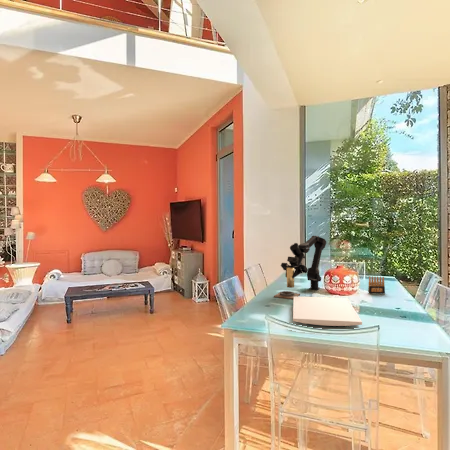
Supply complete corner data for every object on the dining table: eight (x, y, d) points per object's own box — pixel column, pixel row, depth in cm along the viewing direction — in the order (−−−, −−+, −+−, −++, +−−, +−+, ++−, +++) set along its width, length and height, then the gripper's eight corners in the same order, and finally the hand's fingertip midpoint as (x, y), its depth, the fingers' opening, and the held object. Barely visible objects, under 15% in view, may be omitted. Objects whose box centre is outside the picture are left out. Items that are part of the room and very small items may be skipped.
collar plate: (280, 292, 233) (280, 289, 233) (300, 294, 226) (300, 291, 226) (273, 297, 221) (273, 293, 221) (293, 299, 214) (293, 296, 214)
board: (293, 303, 205) (293, 296, 205) (347, 305, 199) (347, 298, 198) (293, 327, 161) (293, 318, 161) (362, 331, 155) (362, 321, 154)
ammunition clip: (368, 293, 227) (368, 276, 227) (368, 292, 229) (368, 275, 229) (385, 293, 226) (385, 276, 225) (384, 293, 228) (384, 276, 227)
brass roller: (292, 285, 224) (292, 267, 224) (295, 287, 219) (295, 268, 219) (285, 286, 223) (285, 267, 223) (288, 287, 218) (288, 268, 218)
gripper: (282, 251, 230) (272, 268, 222) (305, 253, 217) (296, 271, 209) (288, 261, 236) (279, 278, 228) (311, 263, 223) (303, 281, 215)
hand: (289, 277), depth 220 cm, fingers closed on brass roller, 5 cm apart
